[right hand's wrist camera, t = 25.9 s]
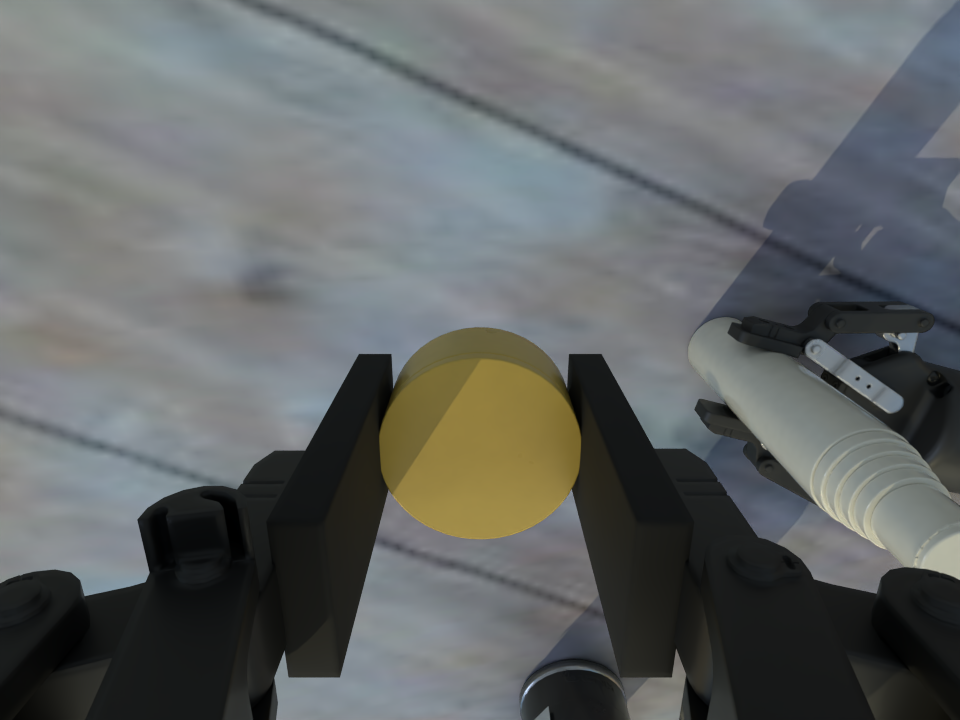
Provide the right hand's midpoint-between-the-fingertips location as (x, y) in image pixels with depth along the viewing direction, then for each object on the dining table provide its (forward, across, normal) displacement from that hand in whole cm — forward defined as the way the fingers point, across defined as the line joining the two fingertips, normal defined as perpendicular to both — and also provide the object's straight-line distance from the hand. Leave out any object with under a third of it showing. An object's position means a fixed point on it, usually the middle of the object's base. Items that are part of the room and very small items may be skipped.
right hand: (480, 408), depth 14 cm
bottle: (+27, +17, -8) cm, 33 cm away
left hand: (+21, +14, -7) cm, 27 cm away
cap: (-2, 0, 0) cm, 2 cm away
